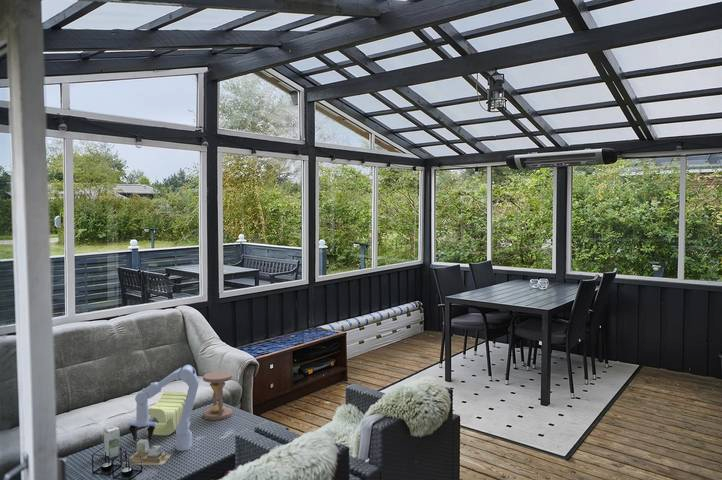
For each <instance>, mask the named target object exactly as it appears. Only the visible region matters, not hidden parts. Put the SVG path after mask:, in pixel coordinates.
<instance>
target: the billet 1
mask: <svg viewBox="0 0 722 480" xmlns="http://www.w3.org/2000/svg"><path fill="white" fill-rule="evenodd" d="M149 442H150V441H148V438H147V439H143V438H141V439H139V440H138V441H137V442H136V452H137V451H138V452H148V451H149V450H148V449H149V448H150V443H149Z"/></svg>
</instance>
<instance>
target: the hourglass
mask: <svg viewBox="0 0 722 480" xmlns="http://www.w3.org/2000/svg"><path fill="white" fill-rule="evenodd" d="M232 379H233V374H232V373H231V372H229V371H213V372H207V373H205V374H203V376H202V381H203V382H205V383H209V386H210V388H211V389H212V392H213V394H212V401H213V402H212V403H213V404H212V406H211V407H210V408H207V409H206V410H204V411H203V415H202V416H203V418H204V419H206V420H208V421H209V420H210V421H216V420H217V421H221V420H225V419H228V418H230V417H231V416H232V415H233V409H232V408H231V407H226V405H224V401H223V395H224V390H223V389H224V388H225V386H226V382H229V381H231V380H232ZM218 397H219V398H218ZM220 419H221V420H220Z"/></svg>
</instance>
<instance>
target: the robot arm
mask: <svg viewBox="0 0 722 480" xmlns="http://www.w3.org/2000/svg"><path fill="white" fill-rule="evenodd" d="M174 381H182V382H184V383H185V384H186V385H187V386H188V389H187V392H186V393H187V396H186V400H185V404H184V408H183V412H182V415H181V419H180V420H179V422H178V425H177V427H176V430H175V441H176V442H175V443H176V445H175V447H176V448H175V449H176V451H179V452H184V451H188V450H190V449H191V447H192V445H193V433H192V431H191V430H190V426H191V416H192V412H193V407H194V404H195V400H196V396H197V392H198V389H199V385H200V384H199V382H200V381H199V379H198V375H197V371H196V369H195V368H194V367H193V366H192V365H191V364H185V365H184V366H182V367H179V368H177V369H176V370H174V371H173V372H172V373H170V374H169V375H167V376H166V377H165V378H163V379H161V380H160V381H154V382H151V383H150V384H149V385H148V386H147V387H143V388H142V389H141V390H139V391H138V393H137V394H136V396H135V398H134V399H135V402H136V410H135V411H136V417H135V418H136V421H129V422H128V423H127V427H129V428H128V430H129V432H130V433H131V436H132V440H133V441H137V439H138V427H139V428H140V427H147V430H146V432H147V431H148V434H147V439H148V441H149V442H150V441H151V440H152V437H153V435H152V434H153V431H154V429H155V427H156V426H157V423H158V421H150V420H149V414H148V409H149V399H152V398H153V397H155V396H156V395H157V394H159V393H160V392H161V391H162V388H163V387H166V386H167V385H169V384H171V383H172V382H174Z"/></svg>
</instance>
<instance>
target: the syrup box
mask: <svg viewBox="0 0 722 480" xmlns="http://www.w3.org/2000/svg"><path fill="white" fill-rule="evenodd" d="M120 434H121V431H120V428H119V427H117V426H116V425H112V426H110V427H109V426H108V427H106V428H103V456H104V455H105V452H106V455H107V456H109V460H110V459H113V458H117V457H119V456H120V455H121V453H120V451H121V449H120V445H121V444H120V439H121V437H120ZM119 454H120V455H119Z"/></svg>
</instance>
